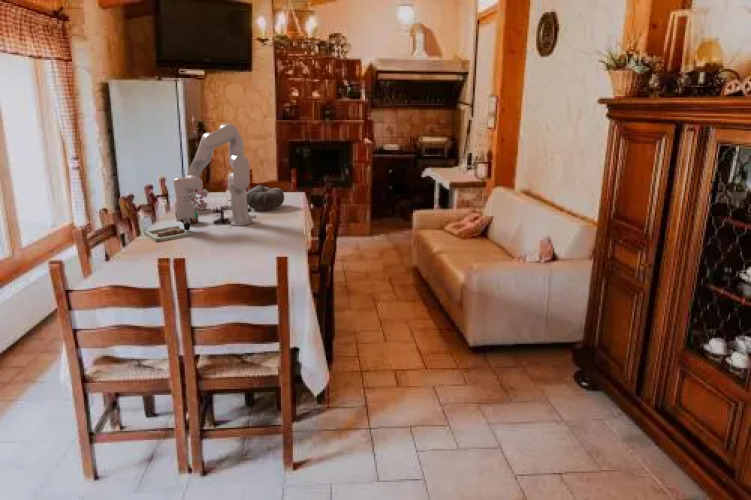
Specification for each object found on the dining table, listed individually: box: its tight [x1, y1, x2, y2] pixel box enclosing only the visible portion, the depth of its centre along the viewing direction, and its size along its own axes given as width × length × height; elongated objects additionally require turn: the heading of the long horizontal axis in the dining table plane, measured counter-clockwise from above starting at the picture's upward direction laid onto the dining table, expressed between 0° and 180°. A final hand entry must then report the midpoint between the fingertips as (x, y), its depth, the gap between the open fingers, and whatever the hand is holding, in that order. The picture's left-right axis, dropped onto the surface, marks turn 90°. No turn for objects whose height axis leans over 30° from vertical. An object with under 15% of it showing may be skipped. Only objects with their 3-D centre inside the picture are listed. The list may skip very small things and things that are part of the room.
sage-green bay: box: [143, 224, 193, 242], centre depth 314 cm, size 20×23×2 cm
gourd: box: [246, 184, 285, 212], centre depth 372 cm, size 25×25×17 cm
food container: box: [185, 204, 200, 226], centre depth 339 cm, size 12×6×10 cm, turn 168°
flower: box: [175, 176, 210, 210], centre depth 370 cm, size 20×22×24 cm
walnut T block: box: [156, 226, 186, 238], centre depth 312 cm, size 12×13×3 cm
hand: (187, 229), depth 321 cm, fingers closed
